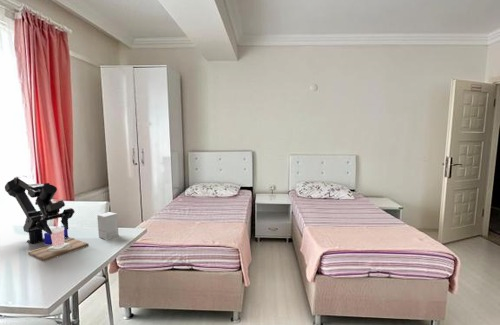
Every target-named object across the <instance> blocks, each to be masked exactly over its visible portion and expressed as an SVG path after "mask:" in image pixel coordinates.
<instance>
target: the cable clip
mask: <svg viewBox="0 0 500 325" xmlns="http://www.w3.org/2000/svg"><path fill="white" fill-rule="evenodd" d="M60 227H64V226H63V225H60ZM68 230H69V229H68ZM68 230H66V229H65V227H64V239H65V237H66V238H67V236H68V237H69V233H68ZM43 238H44V239H45V240H44V245H45V246H49V245H52V239H51V235H50V234H49V233H47V232H45V233H43Z"/></svg>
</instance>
